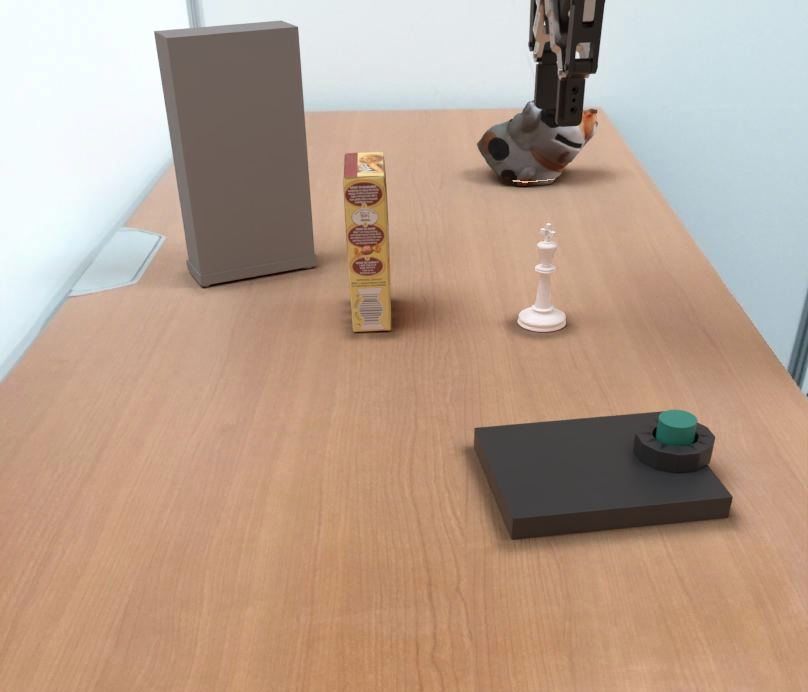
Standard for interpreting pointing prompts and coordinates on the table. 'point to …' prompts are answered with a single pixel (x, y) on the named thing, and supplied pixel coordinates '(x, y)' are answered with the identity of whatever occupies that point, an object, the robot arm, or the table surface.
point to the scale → (597, 475)
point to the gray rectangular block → (239, 148)
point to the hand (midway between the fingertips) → (556, 115)
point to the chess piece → (543, 291)
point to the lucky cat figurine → (535, 145)
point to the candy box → (367, 240)
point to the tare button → (676, 428)
